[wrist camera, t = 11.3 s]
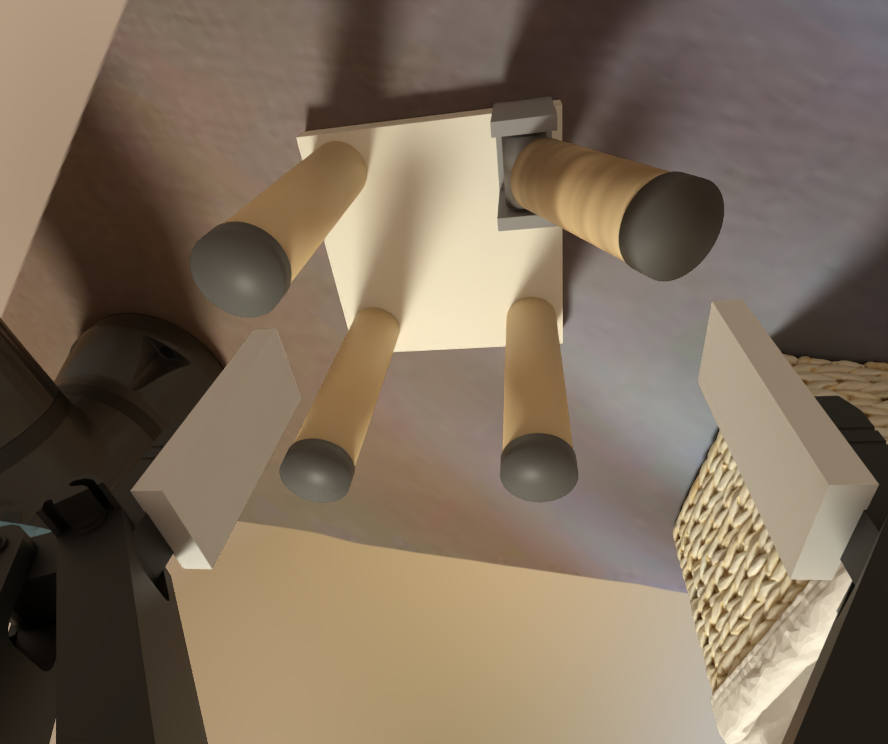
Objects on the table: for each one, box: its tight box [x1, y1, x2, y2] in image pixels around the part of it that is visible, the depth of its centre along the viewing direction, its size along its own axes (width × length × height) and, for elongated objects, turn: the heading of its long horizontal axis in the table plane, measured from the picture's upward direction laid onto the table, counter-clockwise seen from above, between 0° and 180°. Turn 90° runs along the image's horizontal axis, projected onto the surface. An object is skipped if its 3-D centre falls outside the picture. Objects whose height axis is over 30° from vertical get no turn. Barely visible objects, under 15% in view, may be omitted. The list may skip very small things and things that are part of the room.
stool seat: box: [190, 96, 578, 503], centre depth 34 cm, size 18×19×19 cm
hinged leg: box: [501, 132, 724, 281], centre depth 27 cm, size 14×4×4 cm
